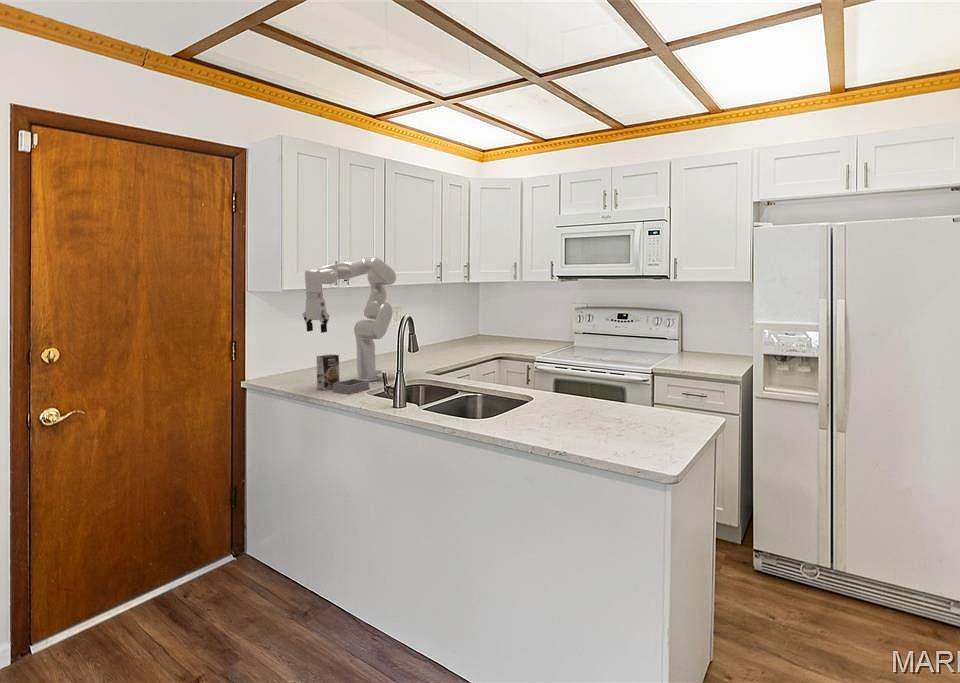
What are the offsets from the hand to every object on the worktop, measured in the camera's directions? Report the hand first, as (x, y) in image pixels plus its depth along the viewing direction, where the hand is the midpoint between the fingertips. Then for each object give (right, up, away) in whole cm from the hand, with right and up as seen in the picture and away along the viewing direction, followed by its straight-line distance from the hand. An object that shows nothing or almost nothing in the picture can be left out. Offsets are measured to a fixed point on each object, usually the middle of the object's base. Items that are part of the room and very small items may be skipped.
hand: (316, 331), depth 270 cm
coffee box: (+3, -28, +9) cm, 29 cm away
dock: (+16, -28, +3) cm, 33 cm away
